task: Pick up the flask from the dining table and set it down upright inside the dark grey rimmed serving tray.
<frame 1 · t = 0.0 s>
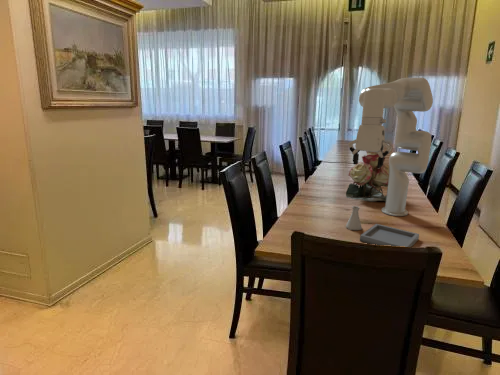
hand: (367, 165, 133), 31 cm above the table, tool pointing down, fingers open, 9 cm apart
flask: (353, 228, 153), on the table
rose bouquet: (369, 196, 203), on the table
serving tray: (389, 240, 140), on the table
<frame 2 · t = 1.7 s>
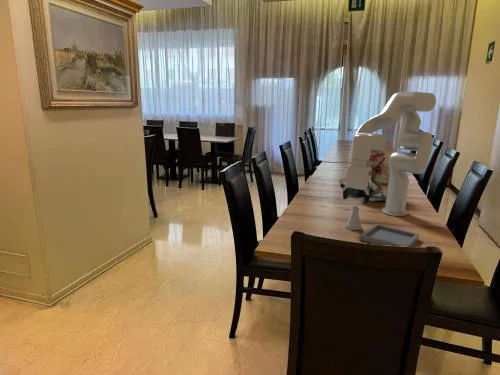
hand: (355, 200, 149), 13 cm above the table, tool pointing down, fingers open, 9 cm apart
nothing on the table moved.
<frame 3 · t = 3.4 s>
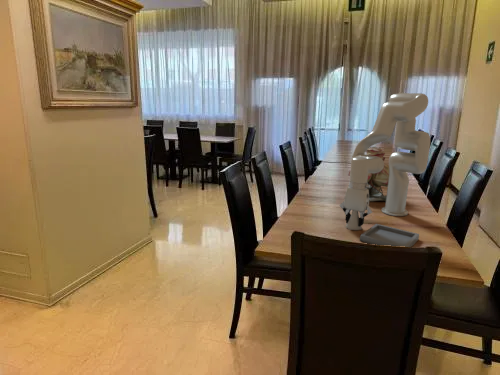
hand: (354, 223, 152), 2 cm above the table, tool pointing down, fingers closed on flask, 5 cm apart
flask: (353, 228, 153), on the table, touching gripper
everything else where it was.
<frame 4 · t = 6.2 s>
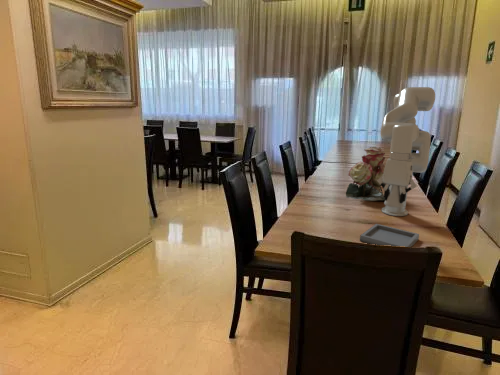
hand: (394, 200, 136), 17 cm above the table, tool pointing down, fingers closed on flask, 5 cm apart
flask: (393, 205, 136), point 15 cm above the table, touching gripper
everything else where it was.
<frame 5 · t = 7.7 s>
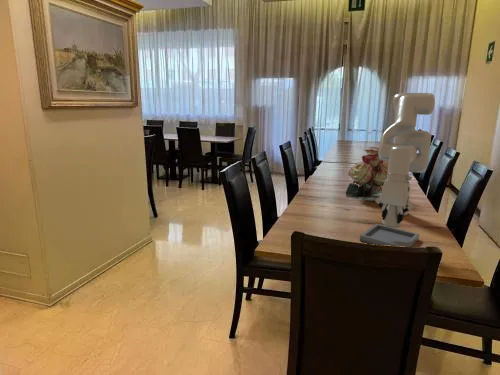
hand: (391, 220, 137), 9 cm above the table, tool pointing down, fingers closed on flask, 5 cm apart
flask: (391, 225, 138), point 7 cm above the table, touching gripper
everything else where it was.
when the fingers open (4 cm above the table, at t = 9.0 s): flask stays where it is, resting on serving tray.
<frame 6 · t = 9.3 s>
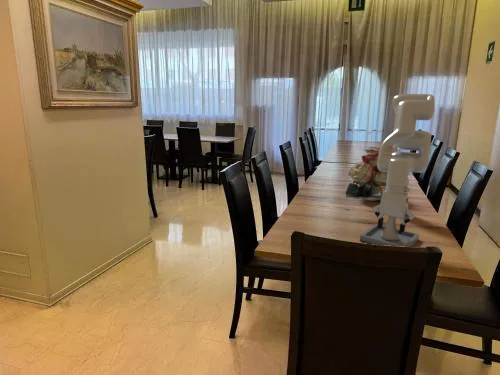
hand: (390, 229, 139), 5 cm above the table, tool pointing down, fingers open, 7 cm apart
flask: (389, 238, 140), point 1 cm above the table, touching serving tray
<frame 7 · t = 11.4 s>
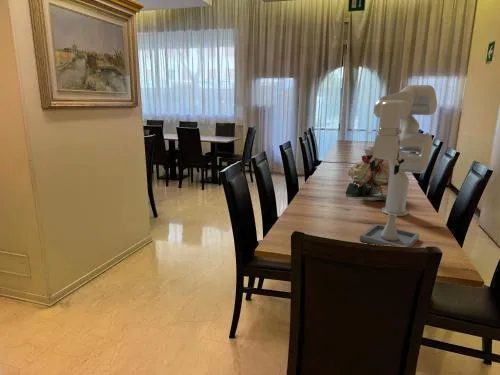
hand: (383, 172, 144), 27 cm above the table, tool pointing down, fingers open, 9 cm apart
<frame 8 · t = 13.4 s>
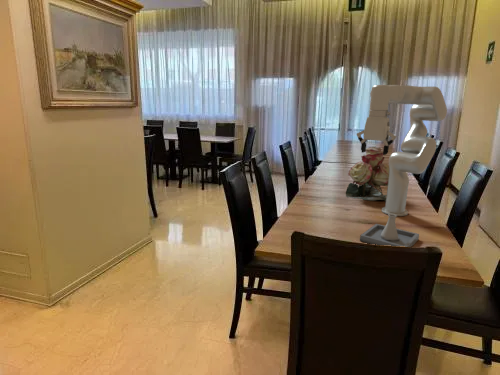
hand: (374, 153, 151), 33 cm above the table, tool pointing down, fingers open, 9 cm apart
at the end: flask inside the target area on the serving tray (0.1 cm from its centre), point 0.8 cm above the serving tray's base; flask tilted 0°; the gripper is holding nothing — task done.
